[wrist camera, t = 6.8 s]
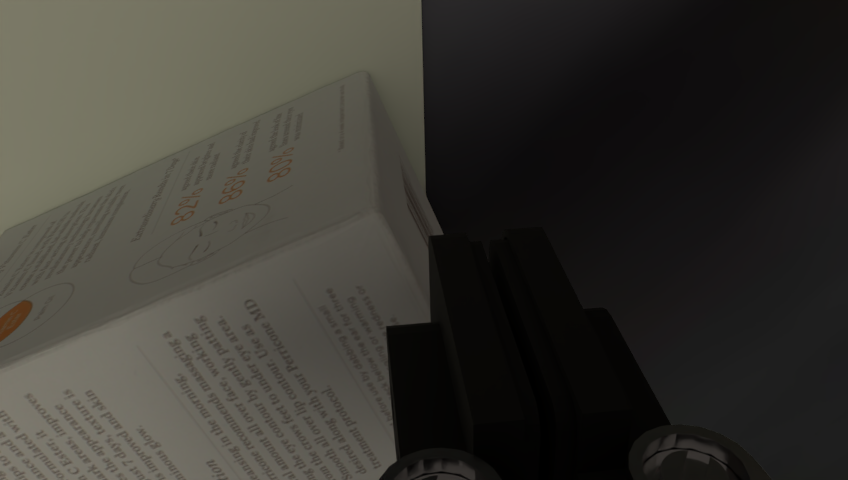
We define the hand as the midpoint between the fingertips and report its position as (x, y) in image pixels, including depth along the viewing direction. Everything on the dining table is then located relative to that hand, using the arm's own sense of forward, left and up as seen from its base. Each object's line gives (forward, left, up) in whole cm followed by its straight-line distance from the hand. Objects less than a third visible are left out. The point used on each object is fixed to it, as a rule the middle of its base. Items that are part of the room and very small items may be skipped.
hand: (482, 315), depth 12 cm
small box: (0, +1, -5) cm, 5 cm away
